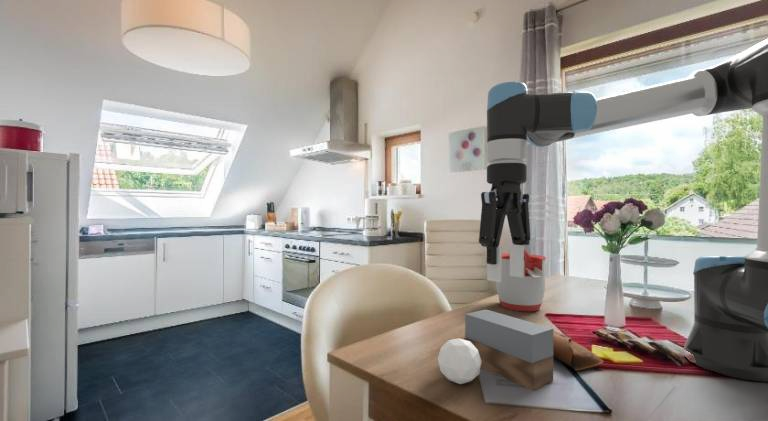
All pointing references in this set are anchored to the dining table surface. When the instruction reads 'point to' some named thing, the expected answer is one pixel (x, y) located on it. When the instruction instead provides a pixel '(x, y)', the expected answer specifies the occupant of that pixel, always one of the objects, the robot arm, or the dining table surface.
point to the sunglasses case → (573, 353)
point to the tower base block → (515, 367)
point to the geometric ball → (459, 361)
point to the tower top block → (510, 335)
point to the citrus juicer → (523, 284)
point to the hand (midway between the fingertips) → (505, 278)
